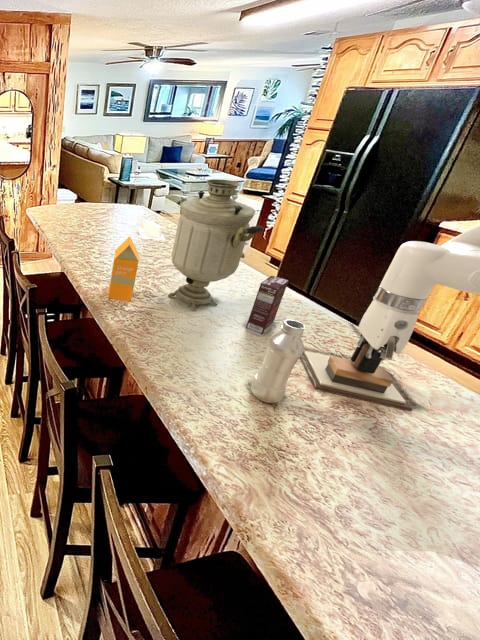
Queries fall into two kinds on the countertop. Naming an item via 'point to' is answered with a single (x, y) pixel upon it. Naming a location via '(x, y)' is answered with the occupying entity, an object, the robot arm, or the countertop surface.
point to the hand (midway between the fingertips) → (361, 366)
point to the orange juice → (124, 271)
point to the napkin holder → (151, 231)
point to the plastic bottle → (279, 362)
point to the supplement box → (266, 305)
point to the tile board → (322, 381)
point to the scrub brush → (358, 373)
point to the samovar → (210, 240)
